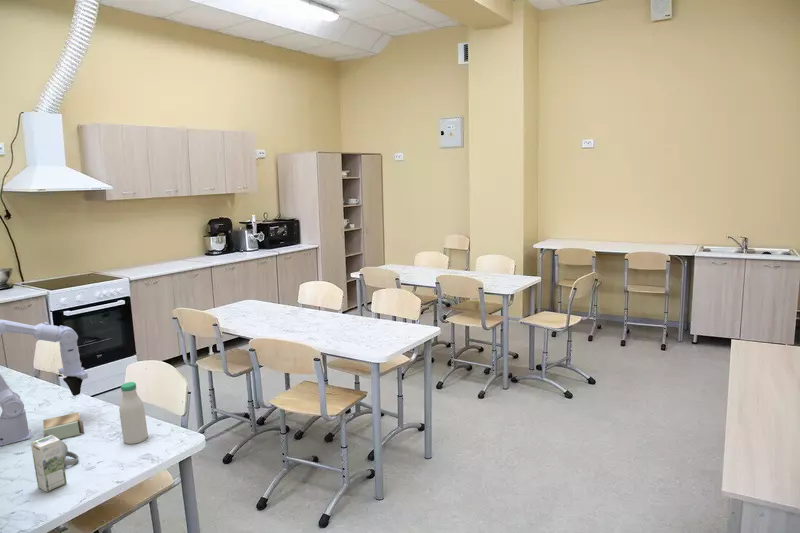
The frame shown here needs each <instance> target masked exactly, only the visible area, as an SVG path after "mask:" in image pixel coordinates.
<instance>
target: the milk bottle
mask: <svg viewBox="0 0 800 533" xmlns="http://www.w3.org/2000/svg"><path fill="white" fill-rule="evenodd" d="M120 390H121V393H122V397H121V400H120V404H119V420H120V427H121V434H122V440H123V443H125V444H127V445H134V444H140V443H141V442H143V441H145V440H146V439H147V438H148V427H147V426H148V425H147V419H146V412H145V406H144V403H143V400H142V399H141V397H140V395H139V394H138V393H137V384H136V382H134V381H129V382H125V383H122V384H121V385H120Z"/></svg>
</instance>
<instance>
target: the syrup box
mask: <svg viewBox="0 0 800 533" xmlns="http://www.w3.org/2000/svg"><path fill="white" fill-rule="evenodd" d="M60 440H61V439H58V438H56V437H54V436H52V435H50V436H47V437H44V436H43V437H42V438H39V439H37V440H34V441H32V442H30V445H31V452H32V459H33V464H34V470H35V478H36V482H37V487H38V488H40V489H41V490H43V491H44V492H46V493H49V492H50V491H53V490H55V489H57V488H59V487H61V486H64V485H66V484H67V476H66V471H65V465H64V462H63V455H62V449H61V442H60Z"/></svg>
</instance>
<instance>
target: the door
mask: <svg viewBox="0 0 800 533" xmlns="http://www.w3.org/2000/svg"><path fill="white" fill-rule="evenodd" d="M42 432H43V438H44V437H47V436H50V435H52V436H54V437H56V438H58V439H59V440H62V439H66V438H67V439H68V438H70V437H74V436H78V435H80V434H81V433H79V426H78V421H76V422H72V423H67V424H63V425H59V426H55V427H51V428H46V429H44V428H43V430H42Z"/></svg>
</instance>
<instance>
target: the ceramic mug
mask: <svg viewBox="0 0 800 533" xmlns="http://www.w3.org/2000/svg"><path fill="white" fill-rule="evenodd" d="M59 440H60V442H61V449H62V455H63V462H64V466H73V465H76V464H77V463H78V461H79V455H78V454H76V453H74V452H73V451H68V445H67V444H66V442H65V441H63V440H62V439H59ZM66 457H70V458H72V459H74V460H67V459H66Z"/></svg>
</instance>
